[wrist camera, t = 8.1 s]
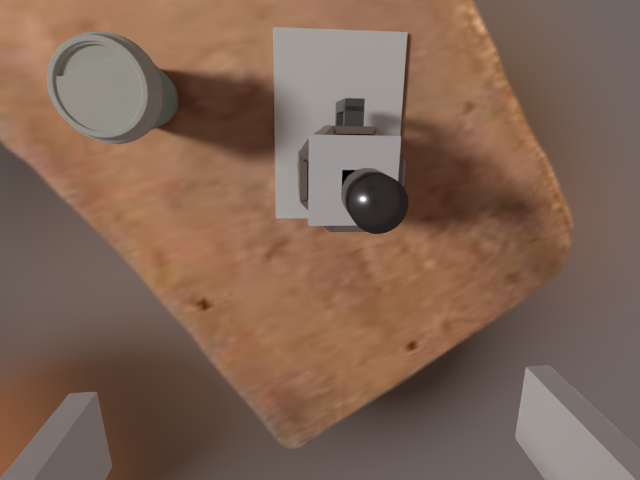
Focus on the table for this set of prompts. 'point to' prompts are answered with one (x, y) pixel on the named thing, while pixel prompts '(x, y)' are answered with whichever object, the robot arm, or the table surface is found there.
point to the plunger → (373, 200)
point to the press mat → (329, 92)
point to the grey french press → (343, 164)
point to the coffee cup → (109, 88)
